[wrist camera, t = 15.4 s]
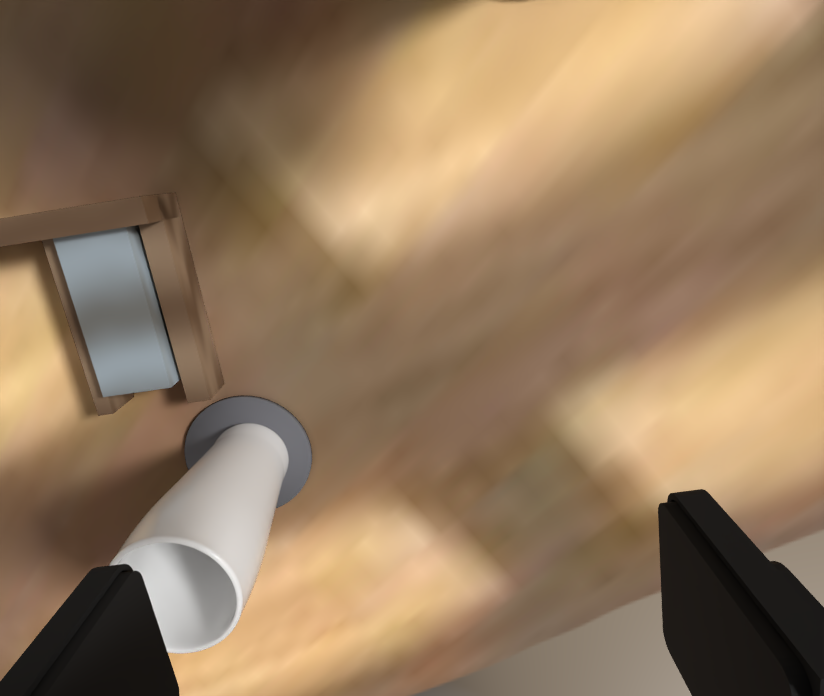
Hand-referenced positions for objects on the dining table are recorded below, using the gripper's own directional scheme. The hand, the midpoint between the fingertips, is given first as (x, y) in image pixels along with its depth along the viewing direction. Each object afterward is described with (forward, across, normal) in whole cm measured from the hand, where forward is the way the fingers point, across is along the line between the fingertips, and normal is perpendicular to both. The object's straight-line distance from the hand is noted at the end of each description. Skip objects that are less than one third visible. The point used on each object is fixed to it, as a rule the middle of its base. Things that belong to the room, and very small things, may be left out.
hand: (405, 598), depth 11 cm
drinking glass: (+30, +13, +10) cm, 34 cm away
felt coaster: (+30, +14, +10) cm, 35 cm away
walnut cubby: (+30, +23, -1) cm, 38 cm away
